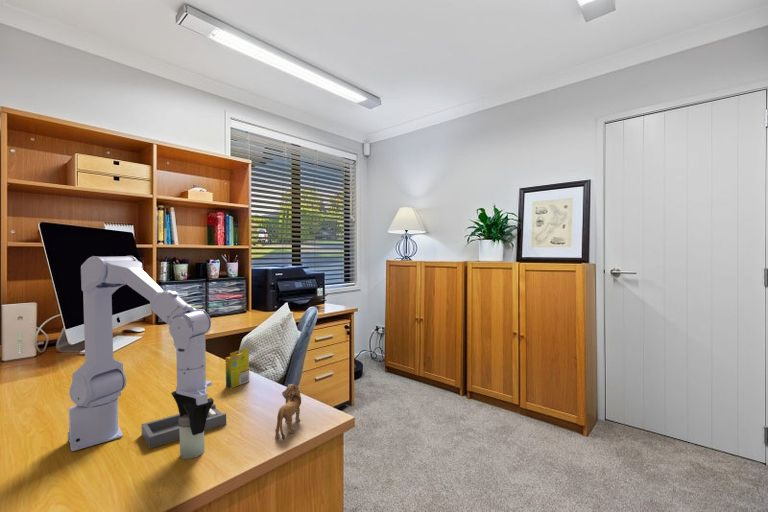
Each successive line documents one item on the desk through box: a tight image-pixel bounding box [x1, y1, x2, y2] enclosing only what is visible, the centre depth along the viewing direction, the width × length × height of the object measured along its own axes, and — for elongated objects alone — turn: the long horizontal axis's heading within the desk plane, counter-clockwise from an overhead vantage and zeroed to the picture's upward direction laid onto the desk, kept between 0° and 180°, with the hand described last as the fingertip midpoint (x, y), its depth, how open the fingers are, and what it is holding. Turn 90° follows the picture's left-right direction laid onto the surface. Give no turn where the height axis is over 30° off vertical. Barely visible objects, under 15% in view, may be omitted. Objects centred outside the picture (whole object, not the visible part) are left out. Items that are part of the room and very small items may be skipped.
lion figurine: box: [274, 383, 302, 441], centre depth 93 cm, size 15×5×9 cm, turn 6°
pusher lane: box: [141, 403, 227, 450], centre depth 92 cm, size 17×9×3 cm, turn 134°
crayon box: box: [224, 347, 250, 389], centre depth 123 cm, size 7×3×12 cm, turn 149°
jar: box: [179, 414, 206, 460], centre depth 81 cm, size 5×5×8 cm
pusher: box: [207, 408, 216, 418], centre depth 94 cm, size 6×6×2 cm
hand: (192, 427), depth 81 cm, fingers open, 7 cm apart
